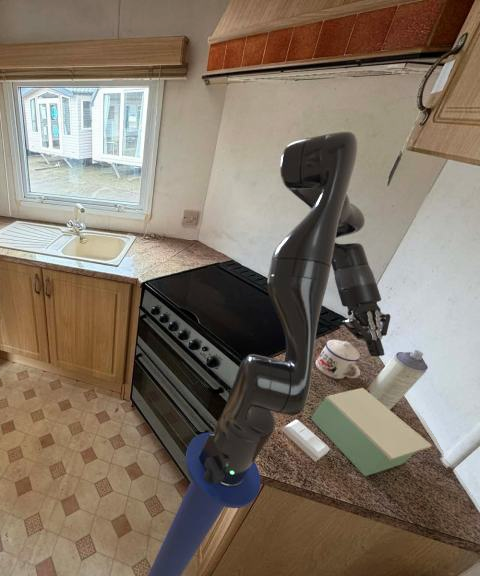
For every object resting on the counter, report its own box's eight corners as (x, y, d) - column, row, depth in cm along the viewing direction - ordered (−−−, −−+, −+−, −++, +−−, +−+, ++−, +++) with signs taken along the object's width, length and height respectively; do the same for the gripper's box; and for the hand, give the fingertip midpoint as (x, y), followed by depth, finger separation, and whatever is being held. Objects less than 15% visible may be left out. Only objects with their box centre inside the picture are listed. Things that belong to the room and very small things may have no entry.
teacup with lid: (307, 360, 104) (323, 334, 98) (329, 357, 106) (346, 332, 100) (337, 388, 95) (357, 362, 88) (361, 385, 96) (382, 359, 90)
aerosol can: (384, 395, 94) (427, 347, 83) (395, 414, 88) (442, 365, 77) (359, 389, 95) (397, 340, 84) (368, 406, 90) (410, 357, 79)
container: (402, 463, 76) (425, 443, 71) (364, 476, 72) (386, 456, 68) (345, 409, 88) (361, 389, 83) (310, 418, 85) (325, 398, 80)
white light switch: (293, 423, 83) (297, 417, 82) (326, 453, 77) (331, 447, 75) (281, 430, 81) (285, 424, 80) (315, 461, 75) (320, 455, 73)
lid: (430, 447, 70) (432, 445, 70) (390, 460, 67) (392, 458, 67) (361, 389, 83) (362, 387, 83) (325, 397, 80) (326, 395, 80)
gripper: (360, 286, 82) (380, 352, 78) (321, 291, 78) (341, 359, 75) (392, 279, 75) (416, 351, 71) (351, 284, 71) (374, 360, 68)
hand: (377, 355), depth 73 cm, fingers closed
